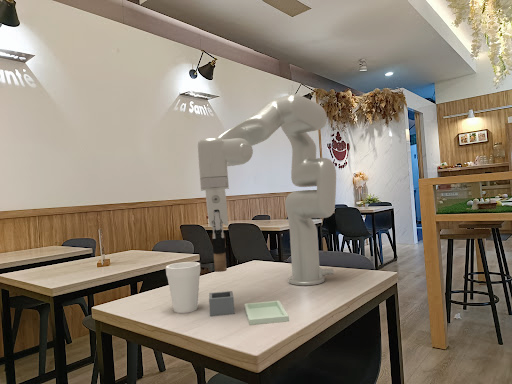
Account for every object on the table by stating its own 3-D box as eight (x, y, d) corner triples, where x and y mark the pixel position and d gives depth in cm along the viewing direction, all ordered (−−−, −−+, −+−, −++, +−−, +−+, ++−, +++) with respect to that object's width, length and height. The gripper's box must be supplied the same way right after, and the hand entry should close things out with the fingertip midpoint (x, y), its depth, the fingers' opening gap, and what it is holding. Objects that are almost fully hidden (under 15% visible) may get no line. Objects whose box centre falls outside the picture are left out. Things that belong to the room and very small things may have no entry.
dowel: (226, 268, 106) (223, 232, 105) (226, 271, 102) (224, 233, 102) (214, 269, 105) (212, 233, 105) (214, 272, 102) (212, 234, 102)
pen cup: (233, 308, 107) (232, 290, 107) (234, 316, 101) (233, 297, 101) (210, 311, 106) (209, 293, 106) (210, 318, 100) (209, 299, 100)
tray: (244, 310, 105) (244, 303, 105) (279, 307, 106) (279, 300, 106) (249, 327, 91) (249, 319, 91) (289, 323, 93) (288, 316, 93)
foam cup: (171, 307, 112) (168, 263, 112) (203, 305, 112) (200, 260, 112) (166, 318, 102) (163, 269, 102) (201, 315, 103) (198, 267, 103)
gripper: (229, 182, 96) (235, 256, 96) (227, 184, 112) (231, 246, 112) (199, 184, 95) (204, 258, 95) (201, 185, 111) (206, 248, 111)
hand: (219, 251), depth 104 cm, fingers closed on dowel, 3 cm apart
